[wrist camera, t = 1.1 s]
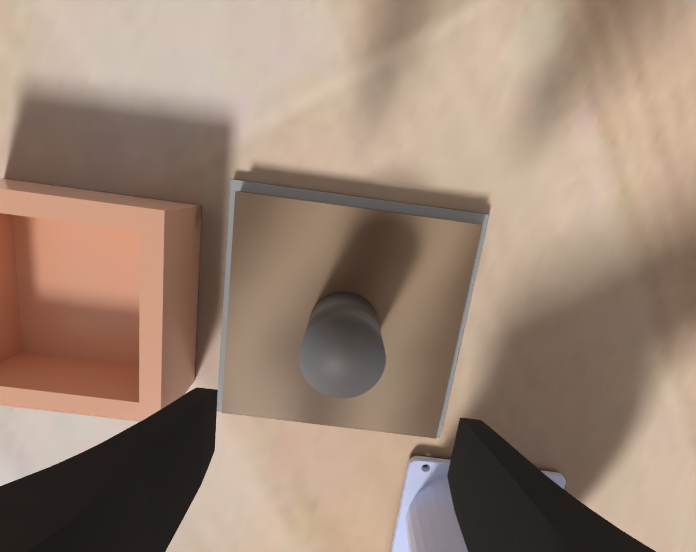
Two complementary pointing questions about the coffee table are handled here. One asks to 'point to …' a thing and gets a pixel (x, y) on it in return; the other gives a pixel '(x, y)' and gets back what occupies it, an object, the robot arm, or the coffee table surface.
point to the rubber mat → (355, 202)
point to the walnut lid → (343, 313)
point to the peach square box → (96, 300)
